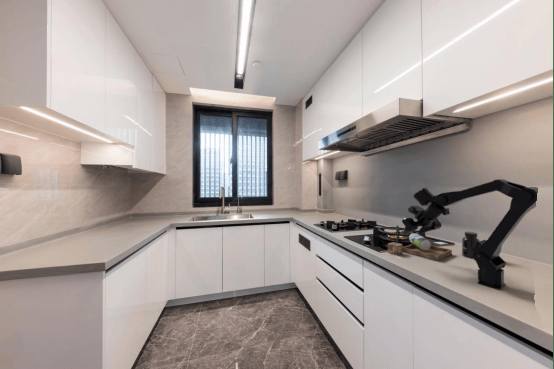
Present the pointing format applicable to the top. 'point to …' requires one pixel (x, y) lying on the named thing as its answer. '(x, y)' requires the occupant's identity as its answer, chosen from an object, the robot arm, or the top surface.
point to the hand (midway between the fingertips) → (411, 233)
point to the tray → (428, 252)
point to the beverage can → (420, 241)
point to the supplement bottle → (469, 243)
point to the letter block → (395, 248)
